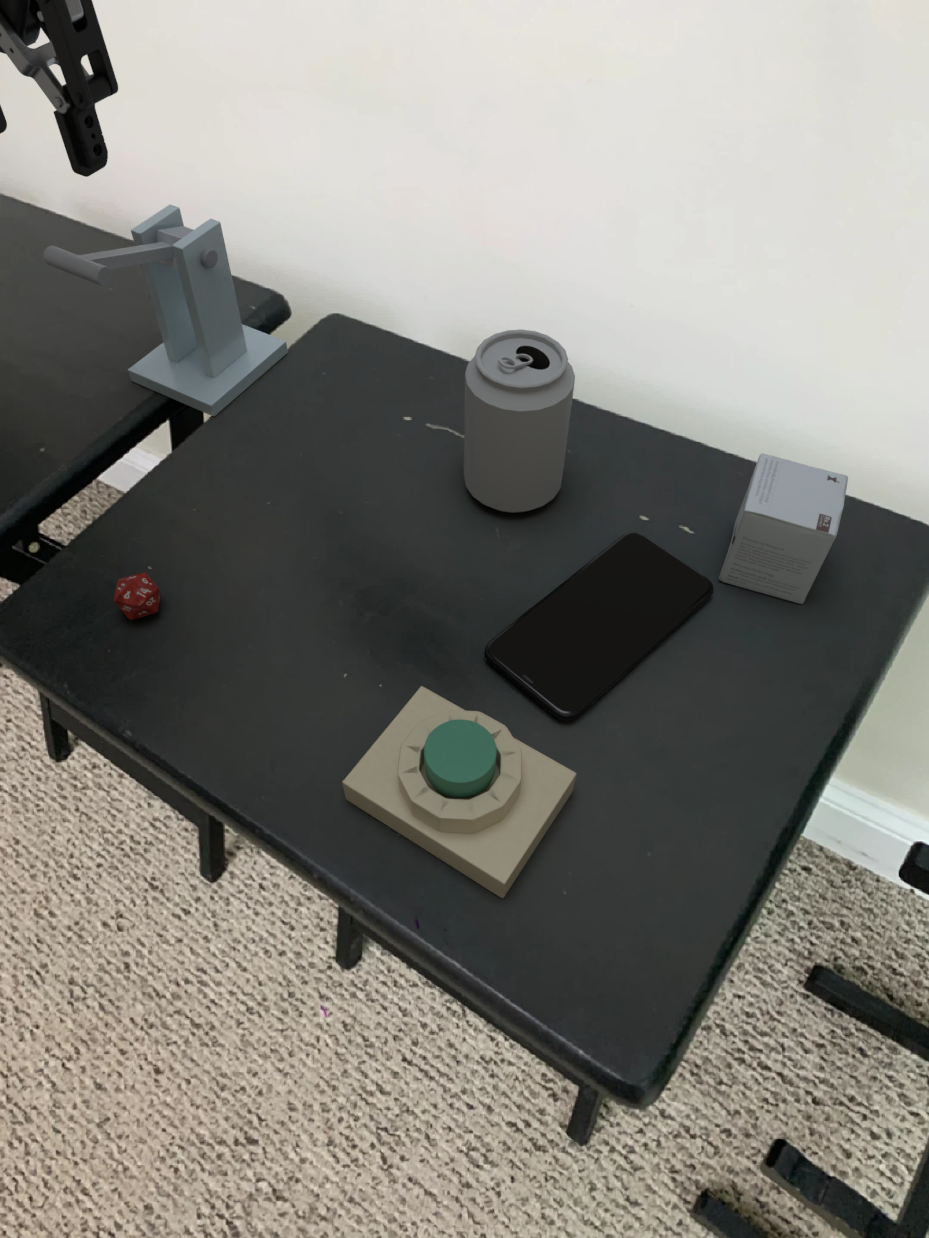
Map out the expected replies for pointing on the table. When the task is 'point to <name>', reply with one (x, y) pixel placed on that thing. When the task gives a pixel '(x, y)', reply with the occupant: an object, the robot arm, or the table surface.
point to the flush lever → (117, 257)
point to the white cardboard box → (784, 528)
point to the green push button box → (461, 826)
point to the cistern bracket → (199, 322)
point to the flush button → (460, 758)
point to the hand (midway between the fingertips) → (41, 152)
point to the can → (516, 420)
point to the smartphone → (598, 624)
